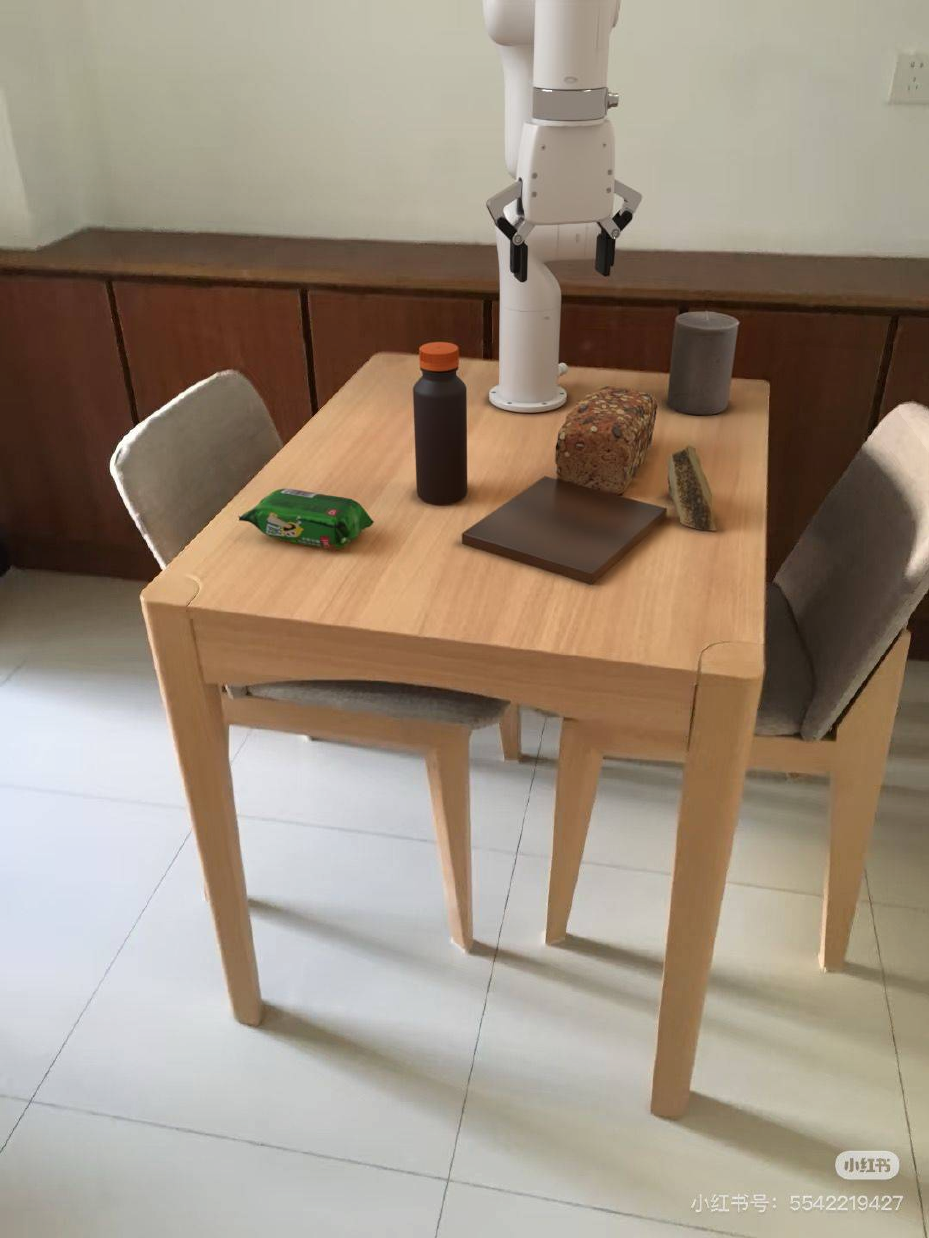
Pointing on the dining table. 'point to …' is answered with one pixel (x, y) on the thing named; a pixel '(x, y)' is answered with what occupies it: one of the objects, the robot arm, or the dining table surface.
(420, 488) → the vinegar
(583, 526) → the serving board
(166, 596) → the dining table surface
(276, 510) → the snack package
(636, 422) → the bread
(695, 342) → the pillar candle
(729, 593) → the dining table surface
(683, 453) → the rock
